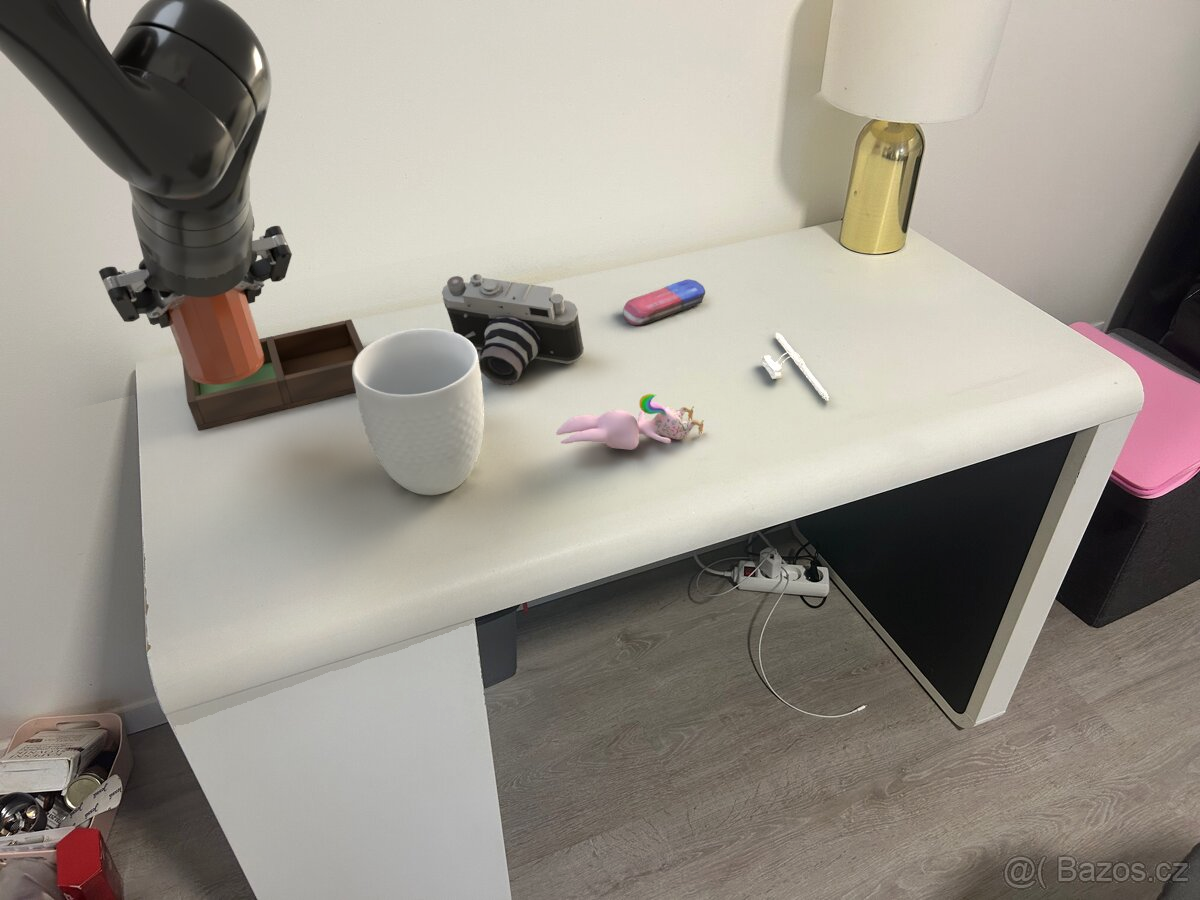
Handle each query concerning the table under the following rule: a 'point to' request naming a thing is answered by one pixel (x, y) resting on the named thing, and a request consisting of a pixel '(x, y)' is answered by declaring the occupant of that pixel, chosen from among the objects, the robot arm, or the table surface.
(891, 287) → the table surface
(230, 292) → the cup
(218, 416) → the holder
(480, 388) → the mug
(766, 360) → the picture light
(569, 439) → the rabbit figure
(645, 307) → the eraser
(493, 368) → the camera
